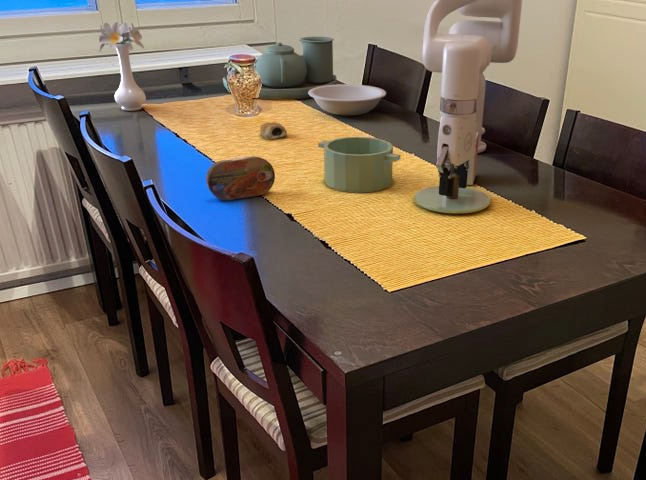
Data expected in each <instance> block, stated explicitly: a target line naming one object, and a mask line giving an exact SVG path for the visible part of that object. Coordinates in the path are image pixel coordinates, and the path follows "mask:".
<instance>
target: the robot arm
mask: <svg viewBox="0 0 646 480" xmlns="http://www.w3.org/2000/svg"><path fill="white" fill-rule="evenodd" d="M522 7H523V0H434V1H433V3H432V4H431V6H430V8H429V10H428V13H427V15H426V18H425V22H424V27H423V28H424V30H423V39H422V50H421V53H422V54H421V58H422V60H421V61H422V63H423V66H424V68H425V69H426V70H427V71H429V72H432V73H439V74H440V73H441V83H440V84H441V85H440V103H439V114H440V121H439V128H438V137H437V147H436V148H437V149H436V160H437V161H436V164H435V167H436V169H437V171H438V177H439V179H438V180H439V181H438V186H439V195H443V196H448V197H452V196H453V188H454V178H452V177H453V173H454V174H459V175H460V180H459V188H466V187H468V185H467V175H468V168H469V160H470V159H471V158H473V157H474V155H475V152H476V132H478V133H479V140H478V151H477V154H479V153H483V152H484V151H486V149H487V144H486V142H484V141H482V135H484V134H485V133H486V129H485V128H484V127H483V121H484V110H485V109H484V108H485V98H486V97H485V96H486V86H487V85H486V84H487V83H486V77H485V75H484V72H485V71H486V69H487V68H488V67H489V66H490V64H491V63H493V64H494V63H495V64H496V63H497V64H507V63H511V62H512V61H513V60H514V59H515V58H516V55H517V53H518V52H517V51H518V48H519V47H518V46H519V38H520V26H521V18H522V17H521V16H522V9H523V8H522ZM455 11H457V12H458V14H460V15H461V16H465V17H472V18H492V19H494V18H495V19H499V20H500V21H496V20H494V21H493V20H476V19H475V20H473V19H468V20H467V19H465V20H460V21H457V22H454V23H453V24H452V25H451V27H450V28H449V30H448V33H438V30H439V26H440V24H441V22H442V21H443V19H445V18H446V17H447V16H448V15H449V14H451V13H453V12H455ZM447 161H449V162H447ZM448 167H449V169H448ZM455 167H456V168H455Z"/></svg>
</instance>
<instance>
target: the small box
mask: <svg viewBox="0 0 646 480" xmlns="http://www.w3.org/2000/svg"><path fill="white" fill-rule="evenodd" d="M478 140H479V133H478V132H476V152H475V155H474V157H473V158H471V159H470V160H469V168H468V175H467V186H473V185H474V182H475V179H476V175H477V164H478V163H477V162H478V153H477V151H478ZM455 168H456V167H455Z"/></svg>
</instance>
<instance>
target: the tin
mask: <svg viewBox="0 0 646 480" xmlns="http://www.w3.org/2000/svg"><path fill="white" fill-rule="evenodd" d="M205 176H206V177H205V181H206V186H207V188H208V190H209V191H210V192H211V194H212V195H213V196H214V198H217V199H219V200H221V201H226V202H227V201H235V200H239V199H247V198H253V197H259V196H263V195H265V194H267V193H268V192H269V191H270V190H271V189H272V187H273V185H274V184H275V180H276V173H275V169H274V167H273V165H272V163H270V161H268V160H267V159H266V158H263V157H260V156H255V155H254V156H246V157H238V158H231V159H223V160H218V161H216V162H215V163H213V164H212V165H211V166H210V167H209V169H208V170H207V172H206V175H205Z"/></svg>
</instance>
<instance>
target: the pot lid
mask: <svg viewBox="0 0 646 480" xmlns="http://www.w3.org/2000/svg"><path fill="white" fill-rule="evenodd" d="M452 178H454V188H453V196H452V197H448V196H443V195H439V185H435V186H429V187H425V188H422V189H420V190H418V191H417V192H416V193H414V198H413V200H414V202H415V204H417V206H419V207H421V208H423V209H426V210H429V211H431V212H436V213H437V212H438V213H444V214H468V213H469V214H470V213H475V212H479V211H482V210H484V209H486V208H488V207H489V206H490V204H491V198H490V196H489V194H487V193H486V192H484V191H481V190H479V189H475V188H472V187H468V186H467V187H466V188H459V180H460V175H459V174H454V173H453V177H452Z"/></svg>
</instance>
